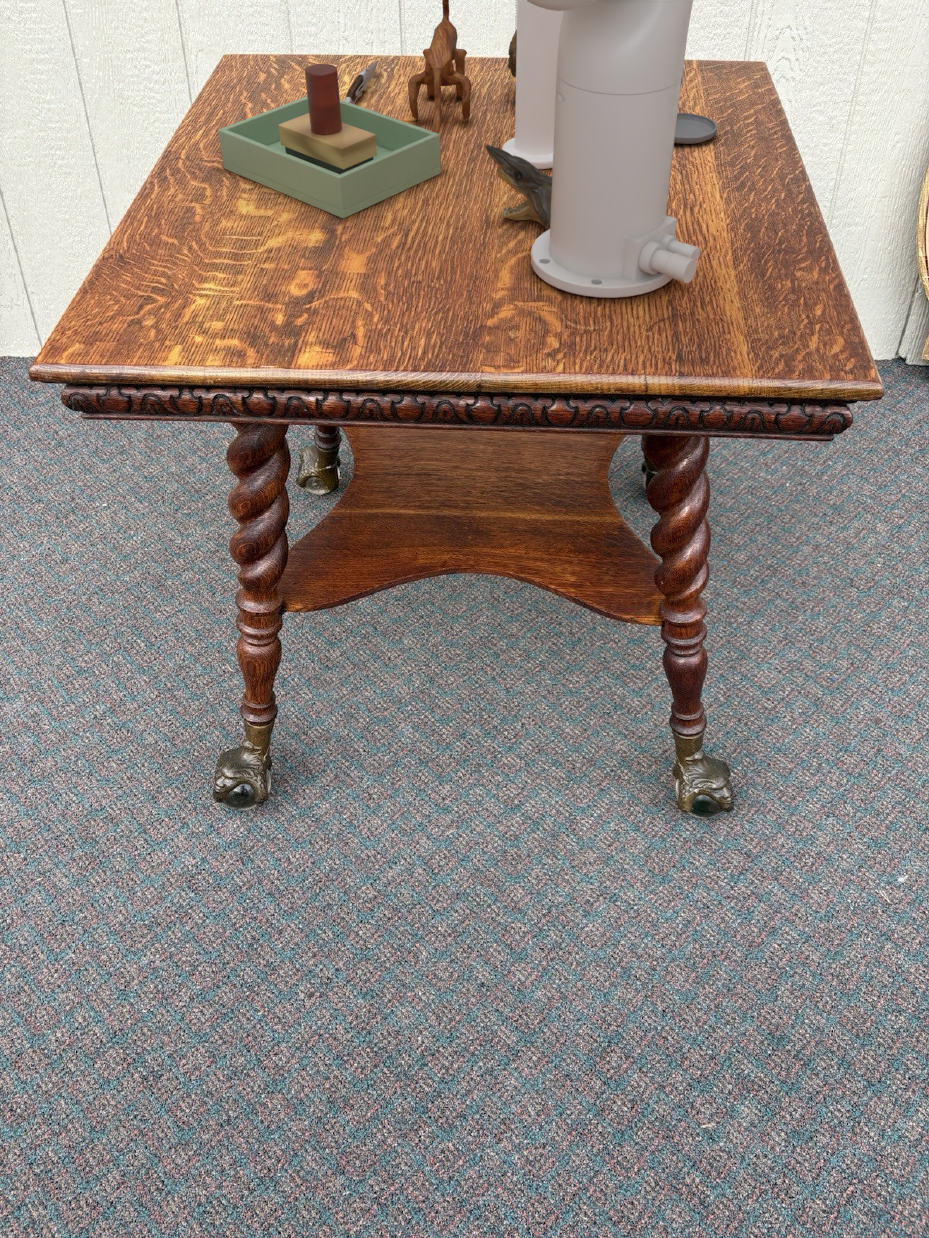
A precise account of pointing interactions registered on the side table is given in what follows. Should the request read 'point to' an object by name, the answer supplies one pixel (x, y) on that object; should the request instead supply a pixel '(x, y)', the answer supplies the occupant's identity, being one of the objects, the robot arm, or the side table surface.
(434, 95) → the wooden animal figurine
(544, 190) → the shark head
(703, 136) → the dark grey round piece
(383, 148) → the tray
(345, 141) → the stamp
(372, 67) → the pocket knife
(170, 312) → the side table surface
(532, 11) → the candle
